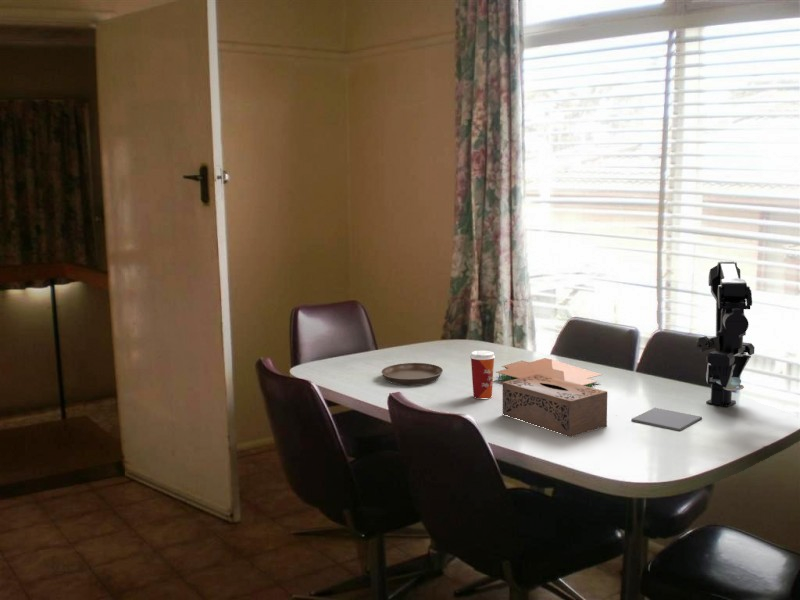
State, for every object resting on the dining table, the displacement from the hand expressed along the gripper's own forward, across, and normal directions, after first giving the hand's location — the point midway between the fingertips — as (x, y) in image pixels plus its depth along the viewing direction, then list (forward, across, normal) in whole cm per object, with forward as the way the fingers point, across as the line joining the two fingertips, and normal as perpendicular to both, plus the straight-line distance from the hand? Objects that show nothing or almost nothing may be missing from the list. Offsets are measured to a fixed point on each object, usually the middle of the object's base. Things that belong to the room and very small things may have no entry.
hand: (729, 384), depth 230 cm
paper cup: (+11, +20, -68) cm, 72 cm away
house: (+12, -8, -62) cm, 63 cm away
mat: (+11, +7, -14) cm, 19 cm away
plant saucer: (+11, +16, -100) cm, 102 cm away
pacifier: (+1, 0, 0) cm, 1 cm away
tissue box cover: (+11, +27, -38) cm, 48 cm away
